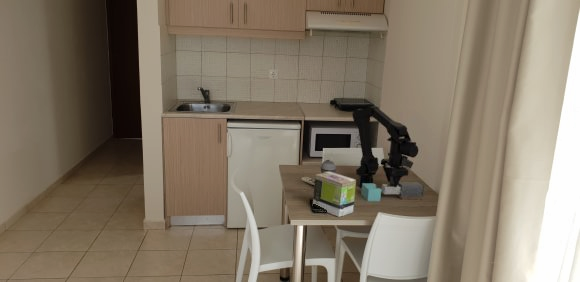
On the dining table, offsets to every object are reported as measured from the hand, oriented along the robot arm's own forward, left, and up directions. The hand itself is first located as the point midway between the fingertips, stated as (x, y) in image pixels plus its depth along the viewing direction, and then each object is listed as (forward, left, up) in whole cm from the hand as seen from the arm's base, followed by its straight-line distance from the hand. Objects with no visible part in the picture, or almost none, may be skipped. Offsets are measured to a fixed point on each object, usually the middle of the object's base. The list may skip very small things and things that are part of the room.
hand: (392, 184), depth 212 cm
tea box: (-32, -14, -7) cm, 36 cm away
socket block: (-10, 0, -7) cm, 12 cm away
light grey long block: (+4, 0, -4) cm, 6 cm away
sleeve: (+9, 0, -7) cm, 11 cm away
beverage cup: (-29, +8, -7) cm, 31 cm away
